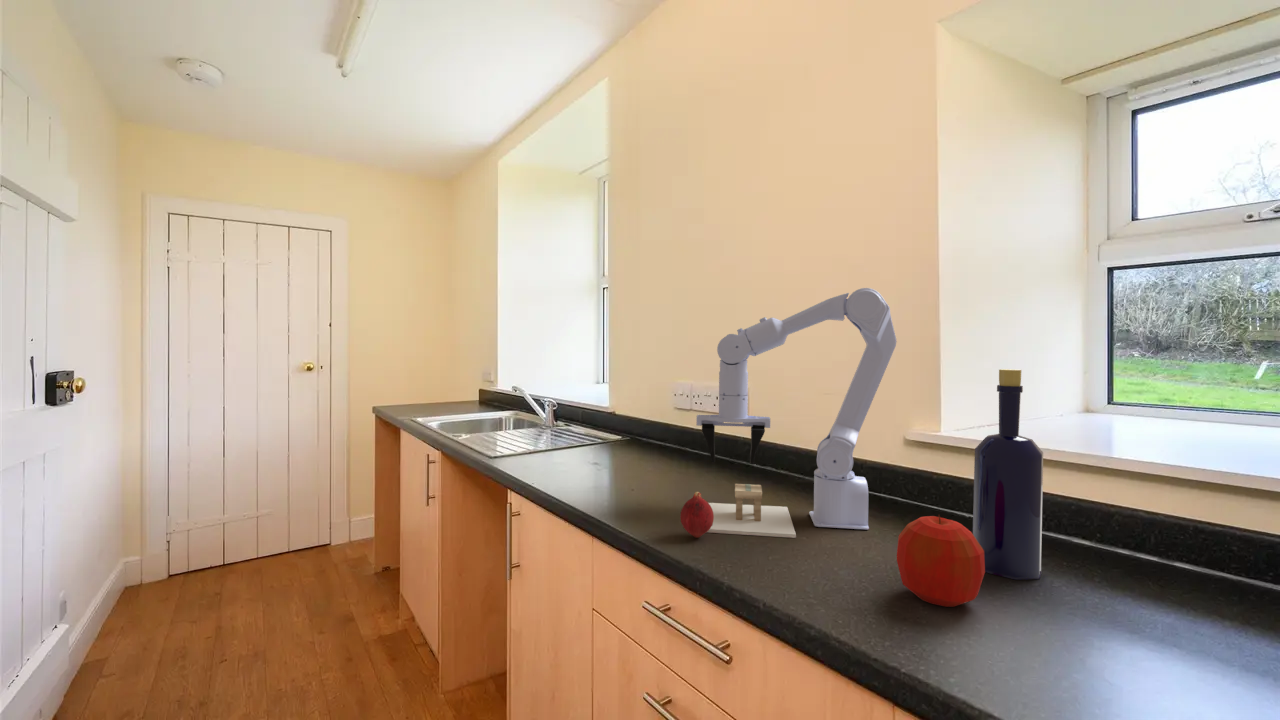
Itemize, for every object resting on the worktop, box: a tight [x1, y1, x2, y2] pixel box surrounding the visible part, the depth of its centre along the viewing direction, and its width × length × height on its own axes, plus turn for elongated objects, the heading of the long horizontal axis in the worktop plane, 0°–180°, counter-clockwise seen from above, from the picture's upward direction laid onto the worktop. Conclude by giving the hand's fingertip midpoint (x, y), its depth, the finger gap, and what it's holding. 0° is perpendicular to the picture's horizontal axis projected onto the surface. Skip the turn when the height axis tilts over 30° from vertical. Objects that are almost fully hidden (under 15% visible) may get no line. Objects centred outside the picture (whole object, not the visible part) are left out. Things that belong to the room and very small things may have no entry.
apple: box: [896, 514, 986, 608], centre depth 70 cm, size 10×10×12 cm
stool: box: [734, 483, 763, 521], centre depth 103 cm, size 5×5×6 cm
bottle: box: [972, 368, 1044, 581], centre depth 81 cm, size 9×9×30 cm
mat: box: [706, 502, 797, 539], centre depth 102 cm, size 16×16×1 cm
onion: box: [679, 491, 714, 539], centre depth 93 cm, size 6×6×8 cm
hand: (732, 462), depth 108 cm, fingers open, 7 cm apart
